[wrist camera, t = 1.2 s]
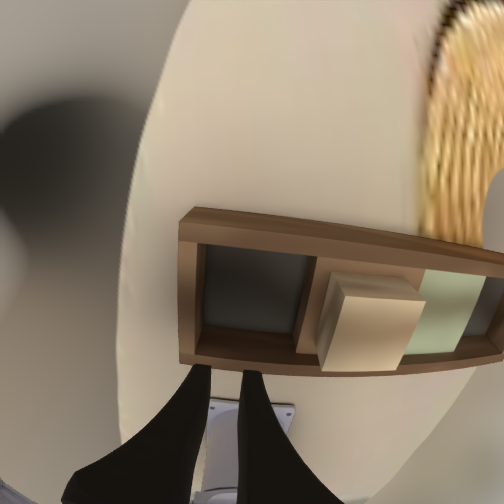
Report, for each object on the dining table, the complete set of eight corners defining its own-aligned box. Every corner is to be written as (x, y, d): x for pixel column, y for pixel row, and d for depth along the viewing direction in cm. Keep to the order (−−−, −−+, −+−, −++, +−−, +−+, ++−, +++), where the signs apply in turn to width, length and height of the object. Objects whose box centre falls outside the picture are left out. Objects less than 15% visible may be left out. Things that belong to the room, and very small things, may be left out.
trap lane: (484, 340, 22) (502, 361, 18) (190, 331, 21) (179, 363, 18) (519, 256, 18) (543, 272, 15) (194, 206, 18) (178, 221, 14)
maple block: (380, 342, 18) (395, 370, 15) (313, 340, 18) (321, 371, 15) (404, 278, 16) (426, 301, 14) (331, 270, 16) (345, 296, 14)
